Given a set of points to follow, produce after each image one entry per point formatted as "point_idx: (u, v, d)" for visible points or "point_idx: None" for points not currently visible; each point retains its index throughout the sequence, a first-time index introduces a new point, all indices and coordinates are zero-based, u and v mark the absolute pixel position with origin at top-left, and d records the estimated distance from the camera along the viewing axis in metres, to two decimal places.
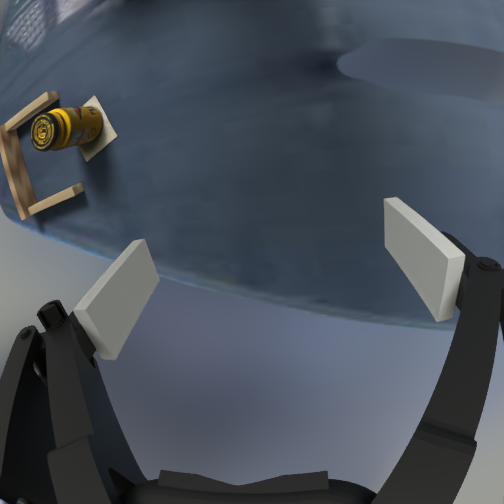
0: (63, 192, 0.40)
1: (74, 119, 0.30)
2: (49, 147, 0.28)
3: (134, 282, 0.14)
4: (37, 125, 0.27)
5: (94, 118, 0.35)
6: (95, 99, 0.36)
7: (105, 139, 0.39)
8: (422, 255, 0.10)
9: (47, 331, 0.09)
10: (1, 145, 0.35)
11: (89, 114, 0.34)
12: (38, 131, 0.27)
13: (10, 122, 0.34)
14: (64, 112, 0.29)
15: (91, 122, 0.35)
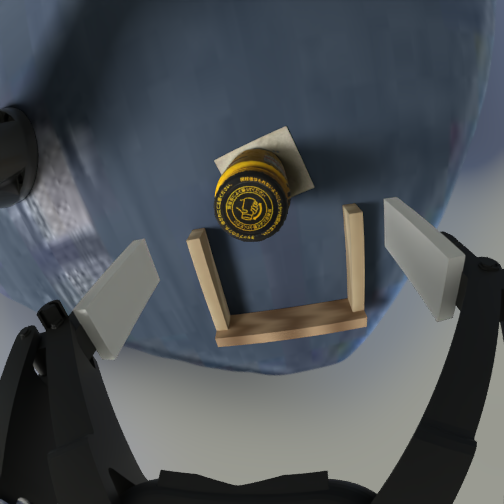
0: (352, 233, 0.30)
1: (243, 159, 0.22)
2: (283, 195, 0.20)
3: (134, 282, 0.14)
4: (234, 219, 0.21)
5: (250, 150, 0.27)
6: (220, 159, 0.30)
7: (287, 147, 0.29)
8: (422, 255, 0.10)
9: (47, 331, 0.09)
10: (246, 339, 0.35)
11: (241, 155, 0.26)
12: (246, 218, 0.21)
13: (217, 319, 0.36)
14: (227, 171, 0.22)
15: None
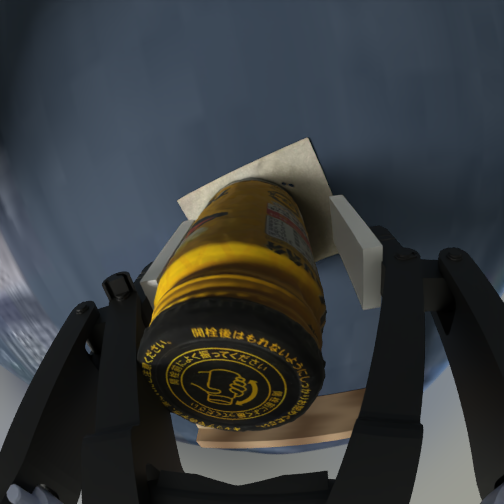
0: None
1: (214, 230, 0.09)
2: (318, 364, 0.07)
3: None
4: (190, 401, 0.08)
5: (238, 188, 0.14)
6: (188, 198, 0.17)
7: (309, 177, 0.16)
8: (350, 247, 0.12)
9: (110, 302, 0.10)
10: (238, 444, 0.22)
11: (220, 199, 0.13)
12: (218, 402, 0.07)
13: None
14: (172, 268, 0.09)
15: (249, 192, 0.13)
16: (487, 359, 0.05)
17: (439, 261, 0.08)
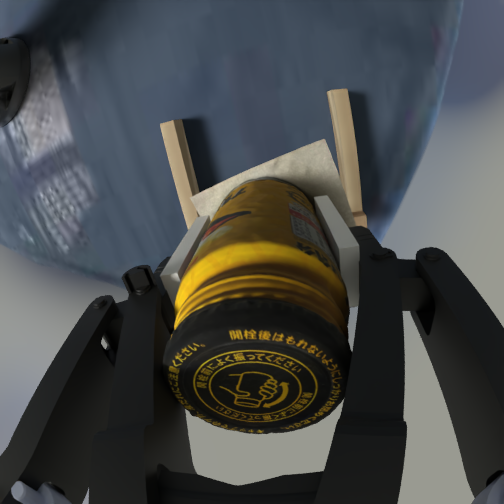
0: (338, 111, 0.25)
1: (241, 229, 0.09)
2: None
3: None
4: (215, 405, 0.07)
5: (256, 187, 0.14)
6: (202, 196, 0.17)
7: (324, 178, 0.16)
8: (330, 247, 0.12)
9: (130, 296, 0.10)
10: None
11: (238, 198, 0.13)
12: (246, 405, 0.07)
13: (190, 221, 0.31)
14: (198, 267, 0.09)
15: (269, 191, 0.13)
16: (470, 358, 0.05)
17: (416, 261, 0.09)
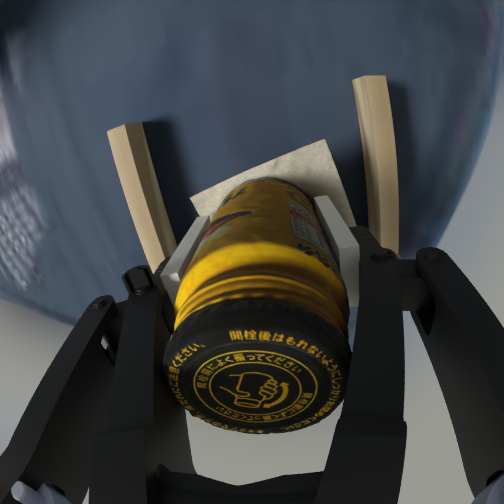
0: (373, 108, 0.16)
1: (241, 230, 0.09)
2: None
3: None
4: (215, 405, 0.07)
5: (256, 187, 0.14)
6: (202, 196, 0.17)
7: (324, 178, 0.16)
8: (330, 247, 0.12)
9: (130, 296, 0.10)
10: None
11: (238, 198, 0.13)
12: (246, 405, 0.07)
13: None
14: (198, 268, 0.09)
15: (269, 192, 0.13)
16: (470, 359, 0.05)
17: (416, 261, 0.09)
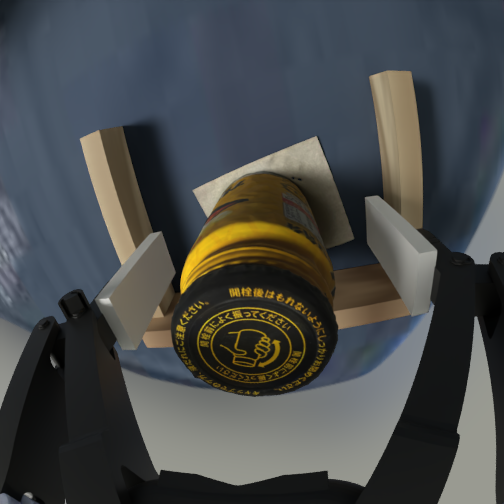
0: (397, 110, 0.13)
1: (239, 212, 0.11)
2: (333, 325, 0.08)
3: (153, 273, 0.14)
4: (216, 364, 0.09)
5: (253, 179, 0.15)
6: (204, 189, 0.18)
7: (316, 172, 0.17)
8: (397, 251, 0.11)
9: (68, 320, 0.09)
10: None
11: (237, 189, 0.15)
12: (243, 364, 0.09)
13: None
14: (202, 244, 0.10)
15: (264, 183, 0.14)
16: None
17: (490, 264, 0.07)
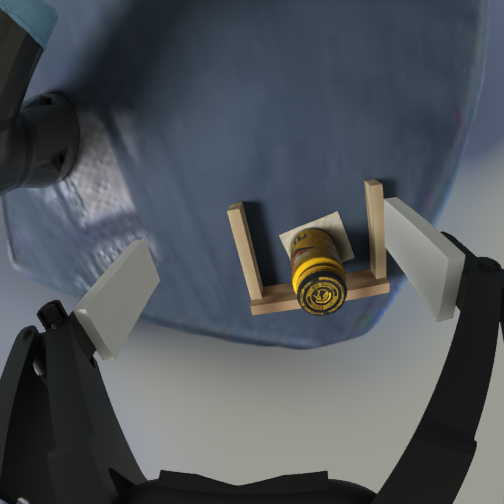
0: (374, 203, 0.33)
1: (314, 253, 0.31)
2: (345, 288, 0.28)
3: (134, 282, 0.14)
4: (311, 302, 0.29)
5: (311, 234, 0.36)
6: (284, 235, 0.39)
7: (337, 227, 0.38)
8: (422, 255, 0.10)
9: (47, 331, 0.09)
10: (279, 306, 0.38)
11: (306, 239, 0.35)
12: (319, 302, 0.29)
13: (252, 287, 0.39)
14: (304, 264, 0.30)
15: (317, 237, 0.35)
16: None
17: None
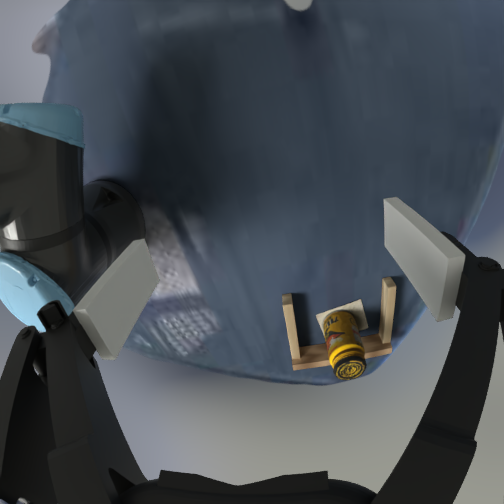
0: (388, 298, 0.44)
1: (345, 340, 0.42)
2: (365, 364, 0.40)
3: (134, 282, 0.14)
4: (342, 373, 0.41)
5: (341, 319, 0.47)
6: (319, 315, 0.50)
7: (358, 309, 0.49)
8: (422, 255, 0.10)
9: (47, 331, 0.09)
10: (313, 364, 0.50)
11: (337, 323, 0.46)
12: (347, 373, 0.41)
13: (294, 352, 0.51)
14: (339, 348, 0.42)
15: (345, 322, 0.46)
16: None
17: None
